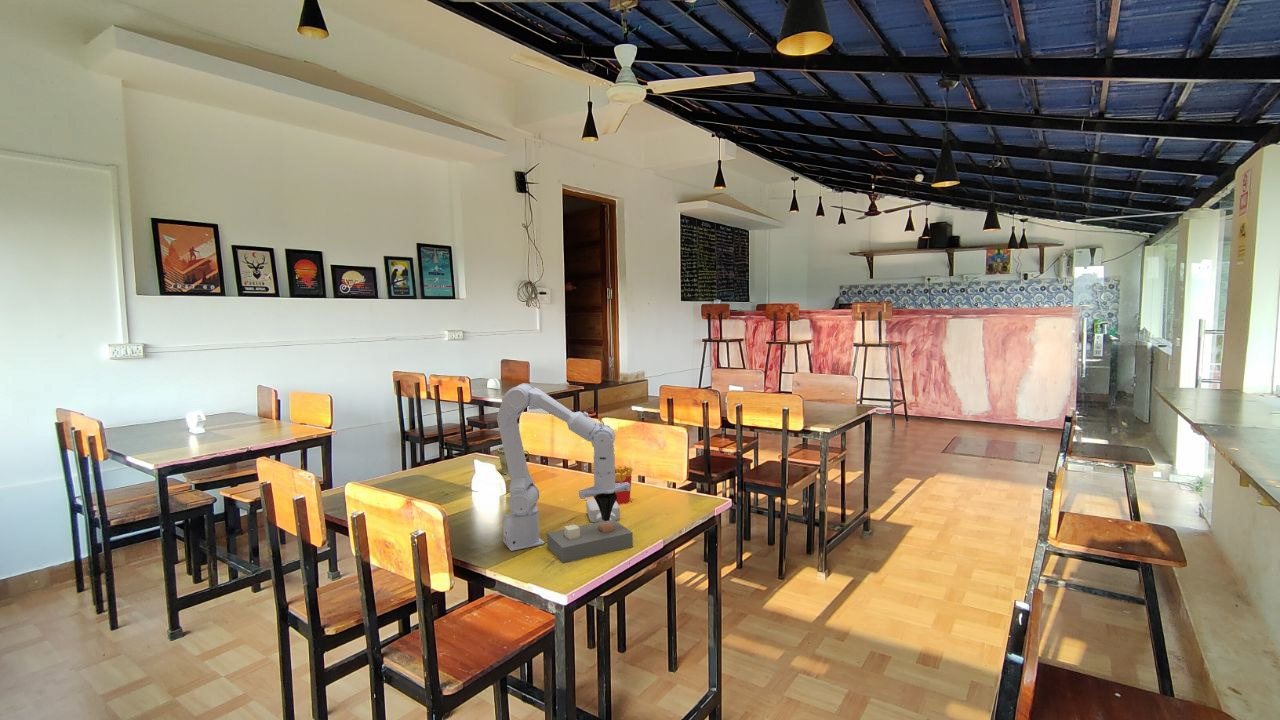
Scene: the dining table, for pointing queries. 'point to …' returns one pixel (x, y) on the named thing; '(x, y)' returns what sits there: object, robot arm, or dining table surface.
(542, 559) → the dining table surface
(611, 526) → the terracotta key
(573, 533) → the offwhite key
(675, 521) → the dining table surface
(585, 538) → the key box
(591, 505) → the charger
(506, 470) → the ceramic cup
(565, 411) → the robot arm
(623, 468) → the french fries
